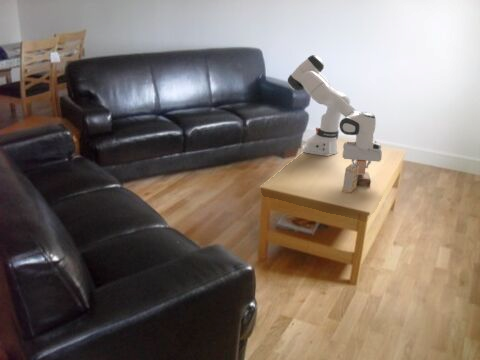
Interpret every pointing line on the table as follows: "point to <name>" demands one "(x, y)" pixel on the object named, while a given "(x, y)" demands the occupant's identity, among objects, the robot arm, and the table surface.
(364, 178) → the plinth
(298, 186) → the table surface
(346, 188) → the supplement box
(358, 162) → the terracotta block
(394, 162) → the table surface
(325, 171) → the table surface
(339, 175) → the table surface
